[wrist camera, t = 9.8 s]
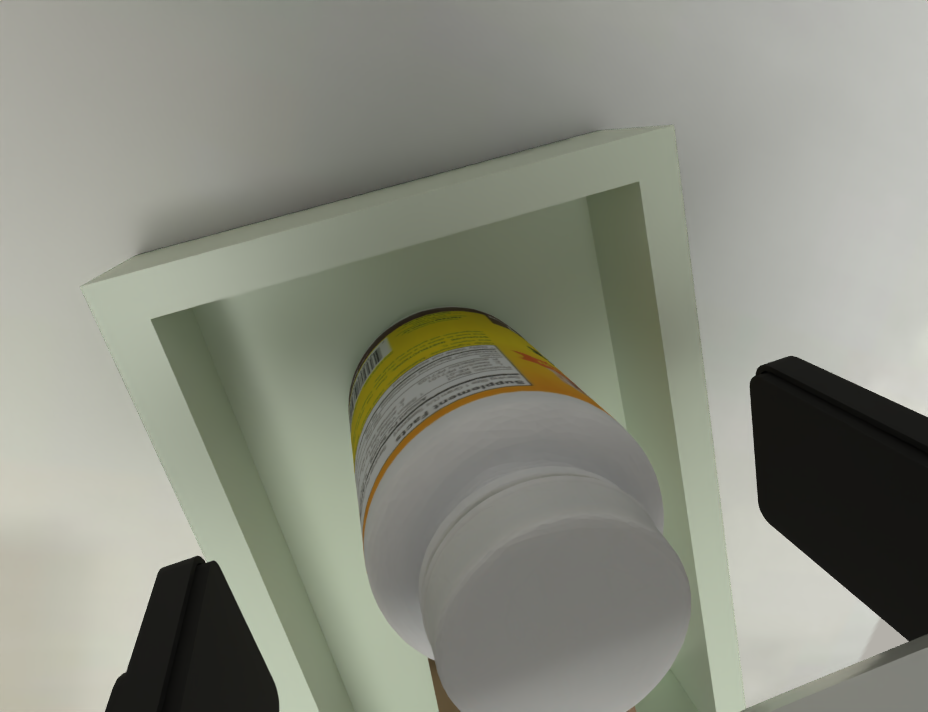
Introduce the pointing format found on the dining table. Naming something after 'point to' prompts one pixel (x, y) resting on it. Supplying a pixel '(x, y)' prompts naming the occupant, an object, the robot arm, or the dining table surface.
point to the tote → (350, 334)
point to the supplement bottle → (510, 522)
